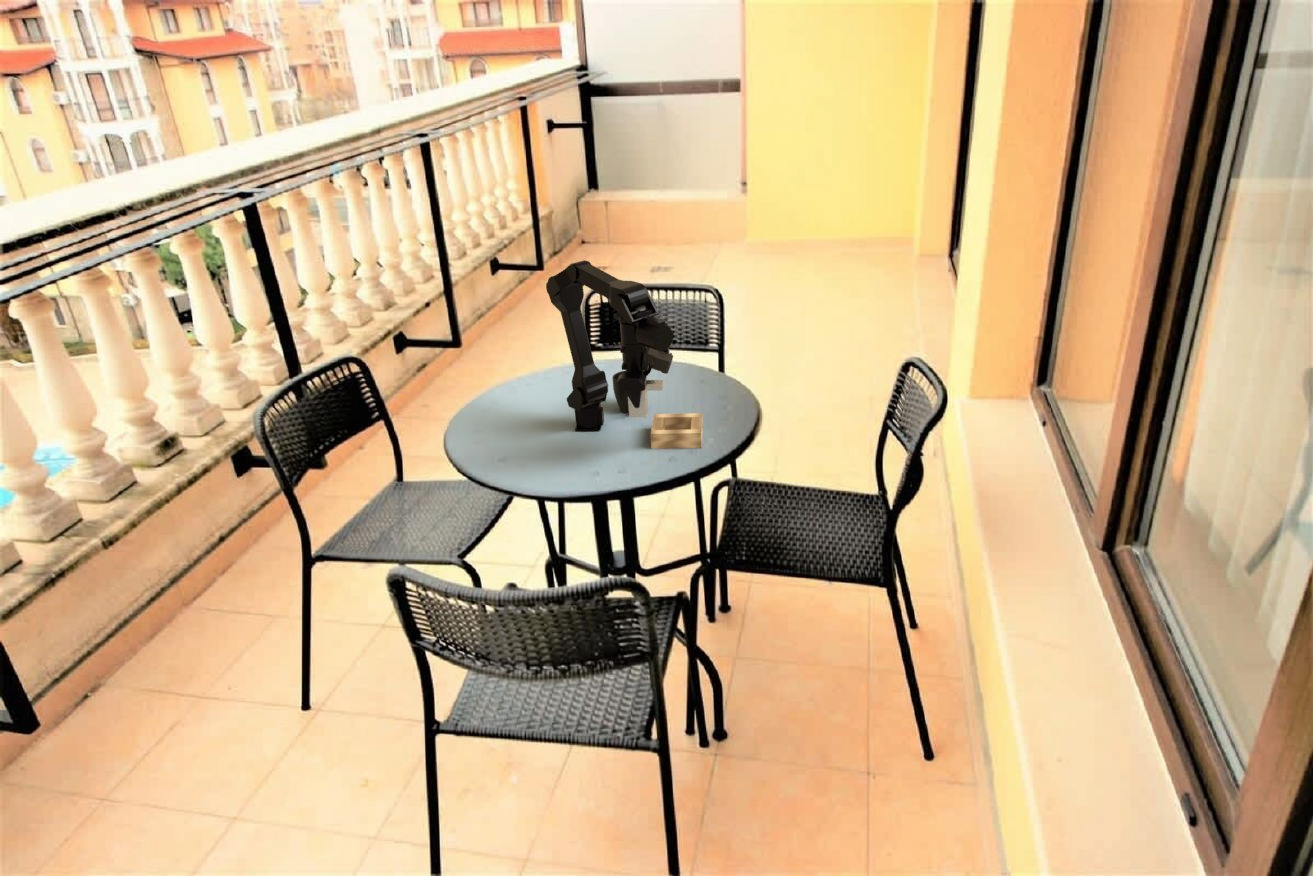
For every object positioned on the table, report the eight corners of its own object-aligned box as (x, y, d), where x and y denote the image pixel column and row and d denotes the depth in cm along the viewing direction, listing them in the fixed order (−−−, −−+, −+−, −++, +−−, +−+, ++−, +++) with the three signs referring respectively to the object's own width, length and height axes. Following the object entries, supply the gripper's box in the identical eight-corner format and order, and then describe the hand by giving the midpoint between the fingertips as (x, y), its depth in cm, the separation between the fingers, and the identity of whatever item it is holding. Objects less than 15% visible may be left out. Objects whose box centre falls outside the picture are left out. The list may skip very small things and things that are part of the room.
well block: (651, 448, 202) (650, 433, 200) (654, 428, 212) (654, 414, 210) (701, 448, 201) (700, 433, 199) (702, 427, 211) (702, 413, 209)
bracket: (629, 417, 195) (627, 385, 191) (631, 410, 198) (629, 378, 195) (663, 417, 194) (661, 385, 190) (665, 410, 198) (663, 378, 194)
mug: (618, 423, 215) (615, 389, 211) (613, 404, 226) (610, 371, 222) (650, 419, 216) (648, 385, 212) (643, 401, 227) (641, 368, 223)
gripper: (665, 355, 179) (668, 421, 186) (673, 326, 196) (676, 387, 203) (614, 355, 180) (619, 421, 187) (626, 326, 197) (630, 387, 204)
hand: (638, 403), depth 195 cm, fingers closed on bracket, 4 cm apart
